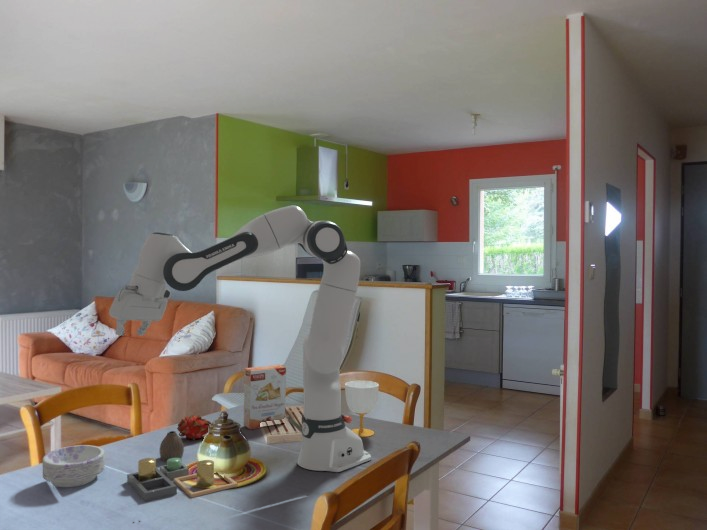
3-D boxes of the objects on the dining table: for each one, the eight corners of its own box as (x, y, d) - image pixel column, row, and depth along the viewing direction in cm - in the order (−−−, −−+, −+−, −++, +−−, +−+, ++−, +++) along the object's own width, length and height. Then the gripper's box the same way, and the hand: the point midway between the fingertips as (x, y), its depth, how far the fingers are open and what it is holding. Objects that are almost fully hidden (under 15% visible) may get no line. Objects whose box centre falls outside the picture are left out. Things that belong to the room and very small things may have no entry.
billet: (209, 480, 164) (210, 458, 164) (216, 486, 160) (216, 463, 160) (194, 484, 161) (194, 462, 161) (200, 489, 158) (200, 467, 158)
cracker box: (250, 430, 211) (250, 370, 210) (243, 426, 216) (243, 367, 215) (286, 424, 219) (286, 366, 218) (278, 420, 224) (278, 363, 223)
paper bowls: (74, 498, 153) (74, 467, 153) (29, 489, 158) (28, 459, 158) (117, 476, 168) (117, 448, 167) (74, 469, 173) (74, 441, 173)
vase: (176, 466, 176) (176, 436, 175) (155, 464, 177) (155, 434, 177) (187, 458, 182) (188, 429, 182) (166, 456, 184) (166, 427, 184)
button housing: (180, 472, 171) (180, 461, 171) (188, 479, 166) (188, 468, 166) (159, 477, 168) (159, 466, 168) (167, 484, 163) (167, 473, 163)
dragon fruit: (173, 445, 199) (209, 445, 205) (180, 435, 193) (217, 436, 199) (173, 420, 204) (208, 421, 210) (180, 410, 198) (216, 411, 204)
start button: (178, 467, 170) (178, 456, 169) (183, 471, 167) (183, 460, 166) (164, 470, 167) (164, 459, 167) (169, 474, 164) (169, 463, 164)
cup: (357, 426, 217) (357, 378, 217) (384, 432, 210) (385, 383, 210) (337, 434, 208) (338, 384, 207) (365, 440, 201) (366, 389, 200)
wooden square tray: (217, 475, 170) (217, 468, 170) (237, 489, 159) (237, 483, 159) (173, 485, 162) (173, 478, 162) (191, 501, 152) (191, 494, 152)
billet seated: (152, 478, 164) (152, 456, 163) (158, 484, 160) (158, 461, 160) (136, 482, 161) (136, 460, 161) (141, 487, 158) (141, 465, 157)
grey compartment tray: (157, 478, 166) (157, 468, 166) (176, 497, 154) (176, 486, 154) (127, 485, 161) (127, 474, 161) (145, 505, 149) (145, 493, 149)
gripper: (132, 288, 157) (115, 338, 157) (175, 293, 177) (159, 338, 177) (113, 280, 159) (95, 330, 159) (157, 286, 179) (141, 331, 178)
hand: (129, 335), depth 168 cm, fingers open, 8 cm apart
